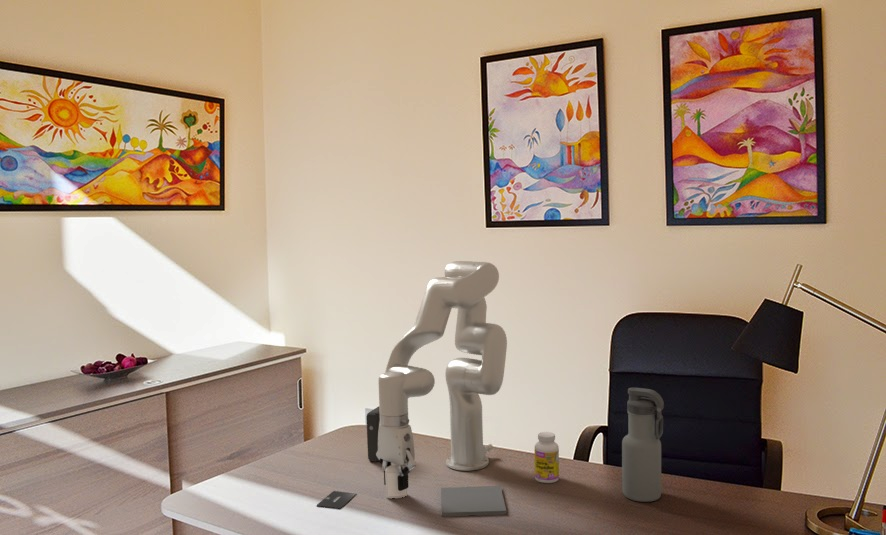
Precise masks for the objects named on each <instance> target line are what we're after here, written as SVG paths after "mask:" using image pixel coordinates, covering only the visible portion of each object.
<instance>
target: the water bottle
mask: <svg viewBox="0 0 886 535" xmlns="http://www.w3.org/2000/svg"><path fill="white" fill-rule="evenodd" d="M627 394H628V400H627V404H626V405H627V407H626V408H627V409H626V411H627V412H626V413H627V416H628V422H627V423H628V424H627V425H628V433H627V434H626V435H625V436H624V437H623V438H622V440H621V457H622V458H621V472H622V475H621V478H622V480H621V481H622V482H621V485H622V494H623V496H624V497H626V498H627V499H629V500H631V501H634V502H640V503H651V502H655V501H658V500H659V499H660V498H661V497H662V496H661V495H662V442H661V440H660V439H661V437H662V436H663V434H664V416H663V415H662V411H663V410H664V408H665V405H664V404H665V402H664V399H663V397H662V396H661V394H659V393H658V392H657V391H656V390H653V389H650V388H642V387H629V388H627ZM655 415H656V418H655ZM655 419H656V420H655ZM659 426H660V427H659Z"/></svg>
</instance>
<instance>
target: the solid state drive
mask: <svg viewBox="0 0 886 535" xmlns="http://www.w3.org/2000/svg"><path fill="white" fill-rule="evenodd" d="M355 495H356V496H357V493H356V492H355V493H354V492H348V491H340V490H339V491H338V490H333V491H331V492H330V493H329V494H328V495H327V496H325V497H324V498H323V499H322V500H321V501H320V502H318V503H317V504H316V507H318V508H324V507H325V509H332V510H333V509H334V510H341V508H342V507H343V508H344V507H345V506H346V505H348V503H349V502H351V501H352V500H353V499H354V498H355V497H356V496H355ZM354 496H355V497H354ZM353 497H354V498H353ZM352 498H353V499H352ZM343 508H342V509H343Z"/></svg>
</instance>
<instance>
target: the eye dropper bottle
mask: <svg viewBox="0 0 886 535" xmlns="http://www.w3.org/2000/svg"><path fill="white" fill-rule="evenodd" d="M402 468H403V469H404V468H405V467H404V465H403V466H402ZM398 476H399V471H398V466H397V464H394V463H391V465H390V466H388V467H387V468H386V469H385V483H386V485H385V498H387V499H392V498H395V499H401V498H402V497H403V498H405V496H406V497H407V496H408V488H407V489H404V490H402V491H399V490H398ZM403 498H402V499H403Z"/></svg>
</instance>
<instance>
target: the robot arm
mask: <svg viewBox="0 0 886 535" xmlns="http://www.w3.org/2000/svg"><path fill="white" fill-rule="evenodd" d="M499 280H500V273H499V269H498V268H497V266H496V265H494V264H493V263H490V262H487V261H470V260H469V261H468V260H467V261H466V260H456V261H451V262H449V263H448V264H447V265H446V266H445V269H444V276H440V277H438V276H437V277H434V278H432V279H431V280H429V282H428V283H427V285H426V288H425V291H424V293H423V297H422V300H421V303H420V306H419V309H418V312H417V316H416V318H415V322H414V325H413V326H412V328H410V330H409V331H407V333H405V334H404V335H403V336H402V338H400V339H399V341H398V342H397V343H396V345H394V347H393V349H392V351H391V353H390V355H389V359H388V362H387V365H386V368H385V371H384V372H383V373H381V374H380V375H379V377H378V400H379V401H378V407H379V410H380V424H379V430H378V451H377V453H376V456H377V457H378V459H379V463H380V464H381V467H382V468H381V469H382V470H383V481H384V482H383V485H384V486H386V483H385V469H386V468H387V467H388V466H390V465H391V463H394V464H397V466H398V471H399V476H398V490H399V491H402V490H404V489H407V490H408V488H409V474H410V473H411V471H412V470H413V469H415V468H416V467H417V464H416V462H415V459H416V456H415V454H416V452H415V443H414V442H415V441H414V435H413V430H412V429H413V428H412V426H411V425H410V424H409V423H410V419H409V398H417V397H419V398H420V397H423V396H427V395H428V394H429V393H431V392H432V391H433V389H434V388H435V384H436V382H435V377H434V376H435V375H434V374H433V373H432V371H430V370H428V369H426V368H423V367H418V366H412V365H409V363H410V360H411V359H412V358H413V355H414V354H415V353H416V352H417V351H418V350H419V349H420V348H422V347H424V346H426V345H428V344H431V343H433V342H436V341H438V340H439V339H440V340H441V338H442V337H443V336H444V335H445V330H446V327H447V325H448V320H449V317H450V314H451V312H452V309H457V314H456V324H455V325H456V326H455V331H454V332H455V333H454V345H455V346H454V347H455V348H456V349H457V350H458V351H459V352H461V353H463V354H470V355H476V356H481V360H480V359H474V358H470V357H457V358H456V357H455V358H453V359H452V360H450V362H449V363H448V364H447V366H446V368H445V376H444V377H445V381H446V382H445V383H446V386H447V390H448V397H449V418H450V419H449V420H450V421H449V423H450V424H449V425H450V455H449V457H447V458H446V460H445V464H446V466H447V467H448V468H450V469H453V470H456V471H462V472H463V471H467V472H469V471H478V470H481V469H484V468H486V467H487V466H488V465H489V464H490V462H489V458H488V457H487V456H486V454H487V453H488V452H490V451H493V449H494V446H493V444H492V443H489V444H486V445H484V433H483V432H484V430H483V428H484V427H483V426H484V425H483V404H482V399H481V397H480V395H483V396H484V395H485V396H493V395H494V396H495V395H496V394H497V393H498V392H499V391H500V390H501V388H502V386H503V381H504V375H505V367H506V359H507V350H508V349H507V348H508V340H507V334H506V331H505V330H504V328H503V327H502V326H501V325H499V324H496V323H491V322H487V310H488V309H487V308H488V306H487V302H486V298H485V297H486V296H488V295H490V294H491V293H492V292H493V291H494V290H495V289H496V287H497V286H498V283H499ZM402 466H404V467H405V468H404V469H403V468H402Z"/></svg>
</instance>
